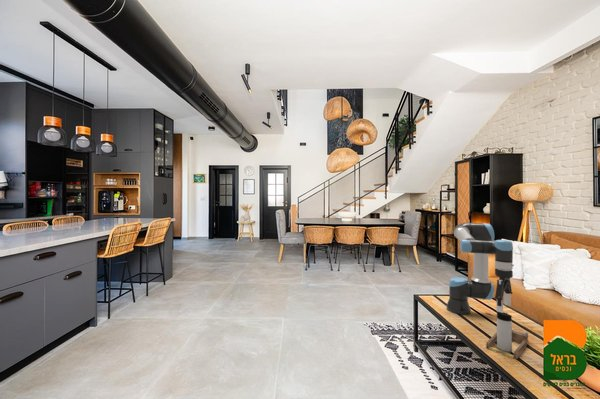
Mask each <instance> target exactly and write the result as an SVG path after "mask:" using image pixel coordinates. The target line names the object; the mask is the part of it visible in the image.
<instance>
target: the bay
mask: <svg viewBox="0 0 600 399" xmlns="http://www.w3.org/2000/svg"><path fill="white" fill-rule="evenodd" d="M528 337H529V332H527V331H525V333H524V332H520V331H517V330H514V329H512V342H515V343H518V344H519V345H518V347H517V348H515V350H514V352H513V354H511V353H506V352H504V351H501V350H498V349H497V347H496V348H495V347H493V346H494V345H495V343H497V332H495V333H494V334H493V335H492V337H490V338H489V340H487V341H486V343H485V345H486V346H485V347H486V348H485V349H487V350H490V351H492V350H493V352H495V351H496V352H495V353H498V354H500V353H501V354H500V355H503V356H505V357H508V358H512V359H514V360H518V359H519V357H520V356H521V354H522V353H523V351H524V350H525V349H526V347H527V346H528V342H529V338H528Z"/></svg>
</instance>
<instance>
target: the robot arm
mask: <svg viewBox="0 0 600 399" xmlns="http://www.w3.org/2000/svg"><path fill="white" fill-rule="evenodd" d="M452 233H453V235H454V237H455V238H456V239H458V240H459V250H460V251H461V252H462V253H466V254H467V253H468V254H469V253H470V254H473V276H472V277H471V278H470V280H468V278H466V277H458V276H457V277H452V278H450V279H449V283H448V286H449V293H448V294H449V298H448V300H447V303H446V310H448V311H449V312H451V313H454V314H457V315H470V314H471V312H472V311H471V310H472V309H471V307H470V304H469V298H470V299H478V300H483V301H484V300H487V301H489V300H492V299H495V300H496V312H501V313H503V312H504V305H505V306H508V307H511V304H512V303H511V302H512V301H511V299H512V298H511V297H512V296H511V295H513V289H512V284H511V279H512V278H513V277H514V272H513V267H515V265H514V264H513V260H514V258H513V257H514V256H513V254H514V247H513V246H514V245H513V242H512V241H511V240H507V239H496V240H495V230H494V228H493V226H492V225H491V223H485V222H463V223H460V224H457V225H455V227H454V228H453V232H452ZM489 255H494V268H495V269H494V275H495V276H496V277H498V278H499V279H497V280H496V290H495V287H494V284H493V283H492V282H491V279H489ZM494 294H495V295H494ZM493 297H494V298H493Z"/></svg>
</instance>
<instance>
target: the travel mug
mask: <svg viewBox="0 0 600 399" xmlns="http://www.w3.org/2000/svg"><path fill="white" fill-rule="evenodd" d="M512 322H513V321H512V315H510V314H508V313H507V312H504V311H503V313H501V312H498V311H496V333H497V341H496V349H498V350H501V351H504V352H506V353H509V354H511V353H512V352H513V347H512V346H513V344H512V343H513V341H512V330H513V327H512V325H513V323H512Z"/></svg>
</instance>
